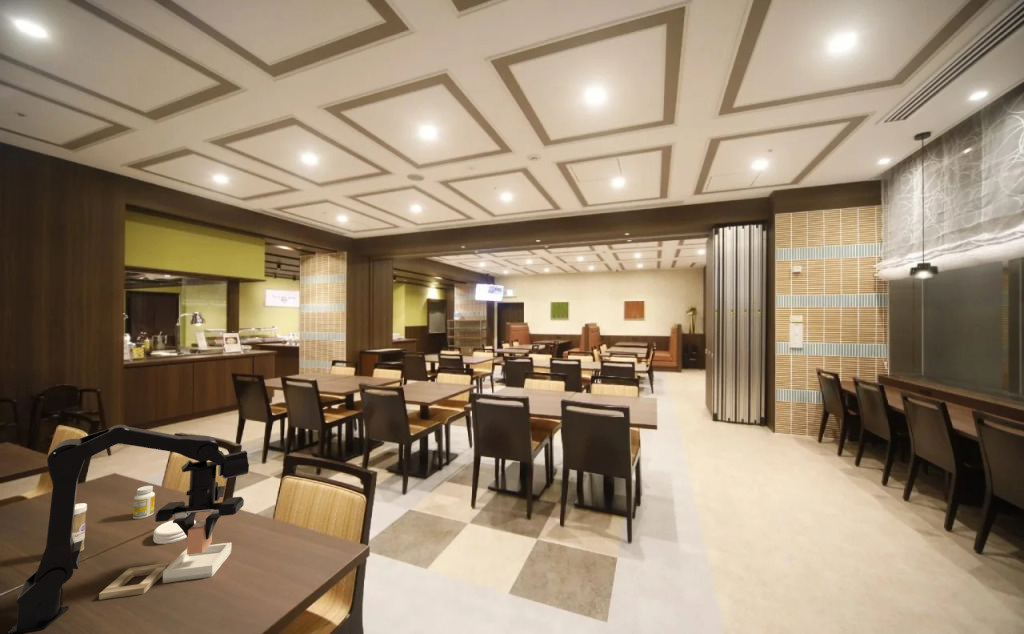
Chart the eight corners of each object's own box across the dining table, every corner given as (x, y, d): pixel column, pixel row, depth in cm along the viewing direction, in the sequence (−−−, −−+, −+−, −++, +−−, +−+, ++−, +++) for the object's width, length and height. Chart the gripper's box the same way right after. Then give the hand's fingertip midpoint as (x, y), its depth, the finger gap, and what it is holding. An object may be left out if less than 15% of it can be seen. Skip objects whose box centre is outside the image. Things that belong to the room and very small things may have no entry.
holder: (143, 593, 93) (144, 587, 93) (99, 599, 91) (99, 593, 91) (169, 568, 103) (169, 563, 103) (129, 573, 100) (129, 567, 100)
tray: (211, 576, 100) (212, 565, 100) (162, 583, 97) (163, 571, 97) (231, 552, 110) (231, 542, 110) (187, 557, 107) (187, 547, 108)
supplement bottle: (138, 520, 127) (139, 492, 127) (129, 517, 129) (130, 489, 129) (157, 513, 132) (158, 486, 132) (148, 510, 134) (149, 483, 134)
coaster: (201, 532, 121) (202, 521, 121) (163, 548, 112) (163, 536, 112) (185, 525, 125) (185, 514, 125) (146, 540, 116) (147, 528, 116)
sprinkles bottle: (80, 554, 108) (83, 507, 109) (57, 559, 106) (60, 511, 106) (87, 546, 112) (89, 501, 113) (64, 550, 110) (67, 504, 110)
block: (202, 552, 102) (203, 527, 102) (186, 554, 101) (188, 528, 101) (211, 542, 107) (212, 518, 107) (197, 544, 106) (198, 519, 106)
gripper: (252, 470, 115) (250, 521, 114) (180, 474, 110) (177, 528, 109) (236, 484, 104) (233, 541, 103) (155, 490, 99) (152, 550, 98)
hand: (200, 539), depth 104 cm, fingers closed on block, 3 cm apart
